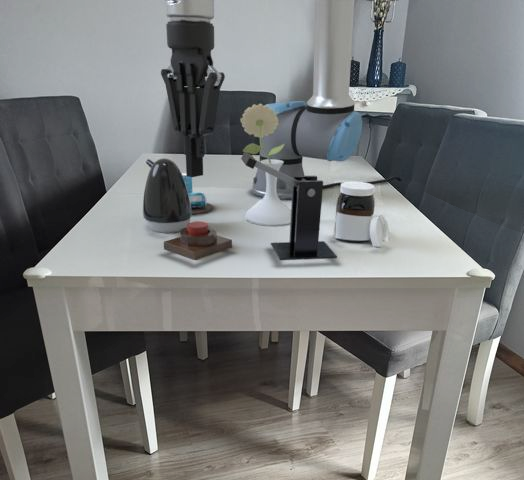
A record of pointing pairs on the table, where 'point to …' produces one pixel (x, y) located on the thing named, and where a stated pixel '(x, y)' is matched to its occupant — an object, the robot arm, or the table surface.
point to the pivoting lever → (268, 169)
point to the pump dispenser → (166, 198)
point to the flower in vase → (270, 205)
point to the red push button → (197, 228)
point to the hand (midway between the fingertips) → (194, 175)
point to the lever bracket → (305, 223)
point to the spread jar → (359, 215)
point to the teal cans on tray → (196, 198)
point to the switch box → (197, 244)
